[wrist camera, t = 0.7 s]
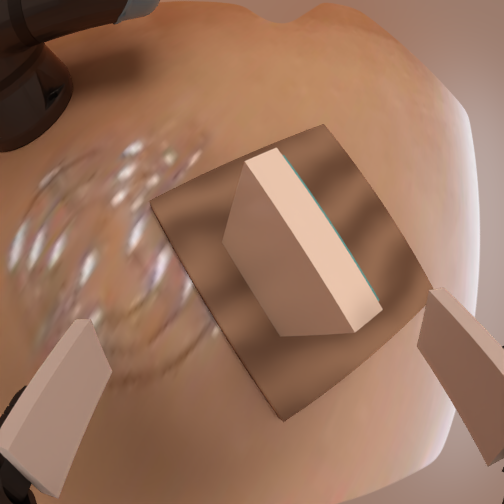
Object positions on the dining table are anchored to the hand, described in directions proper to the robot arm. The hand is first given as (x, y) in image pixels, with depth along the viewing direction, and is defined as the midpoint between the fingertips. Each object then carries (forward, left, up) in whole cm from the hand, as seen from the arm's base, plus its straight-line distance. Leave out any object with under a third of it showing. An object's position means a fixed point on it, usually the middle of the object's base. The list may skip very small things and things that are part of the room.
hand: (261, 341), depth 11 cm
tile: (-3, +5, -16) cm, 17 cm away
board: (-3, +11, -18) cm, 21 cm away
